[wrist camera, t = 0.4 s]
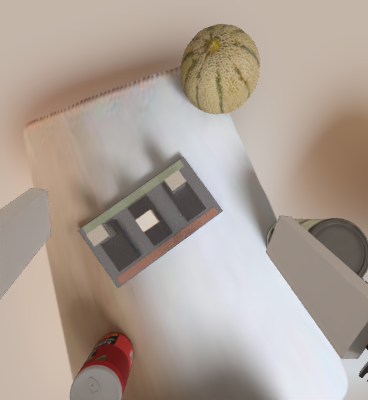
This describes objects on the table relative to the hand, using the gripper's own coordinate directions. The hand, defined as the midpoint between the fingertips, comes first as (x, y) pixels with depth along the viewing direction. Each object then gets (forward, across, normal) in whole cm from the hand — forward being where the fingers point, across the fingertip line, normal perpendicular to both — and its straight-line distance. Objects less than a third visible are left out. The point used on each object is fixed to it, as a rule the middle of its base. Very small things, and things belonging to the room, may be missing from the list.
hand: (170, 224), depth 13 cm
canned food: (+18, +4, +41) cm, 45 cm away
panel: (+30, 0, +17) cm, 34 cm away
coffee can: (+26, -30, +16) cm, 43 cm away
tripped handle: (+26, 0, +15) cm, 30 cm away
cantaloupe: (+43, -10, -10) cm, 45 cm away
